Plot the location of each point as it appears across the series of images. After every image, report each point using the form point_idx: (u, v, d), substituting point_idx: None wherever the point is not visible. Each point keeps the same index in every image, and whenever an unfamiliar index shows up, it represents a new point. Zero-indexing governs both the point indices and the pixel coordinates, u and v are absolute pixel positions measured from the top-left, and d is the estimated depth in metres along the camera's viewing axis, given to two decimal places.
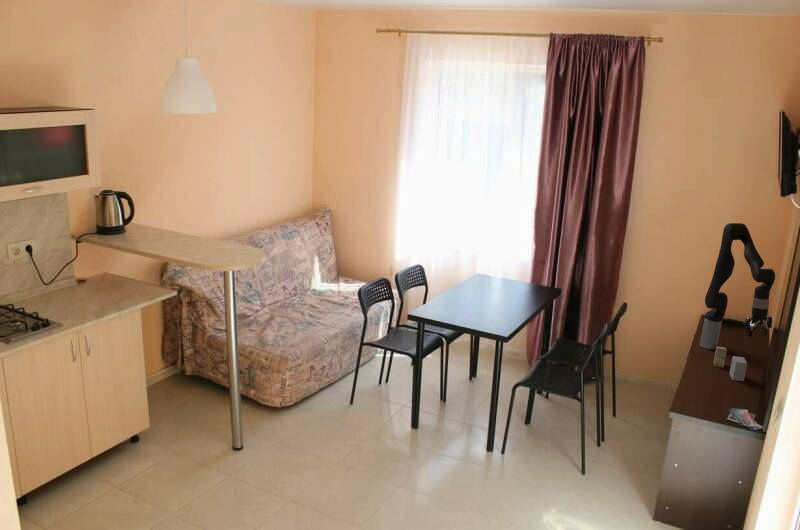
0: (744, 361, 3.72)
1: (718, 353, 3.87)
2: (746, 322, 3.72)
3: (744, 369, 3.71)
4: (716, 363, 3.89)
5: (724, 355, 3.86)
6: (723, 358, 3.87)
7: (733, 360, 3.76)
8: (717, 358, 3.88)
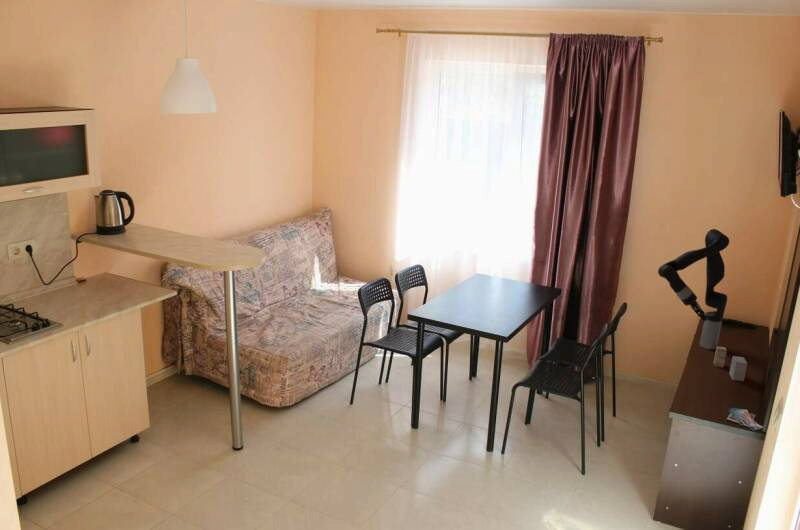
0: (744, 361, 3.72)
1: (718, 352, 3.87)
2: None
3: (744, 369, 3.71)
4: (716, 363, 3.89)
5: (724, 355, 3.87)
6: (723, 358, 3.87)
7: (733, 360, 3.76)
8: (717, 358, 3.88)
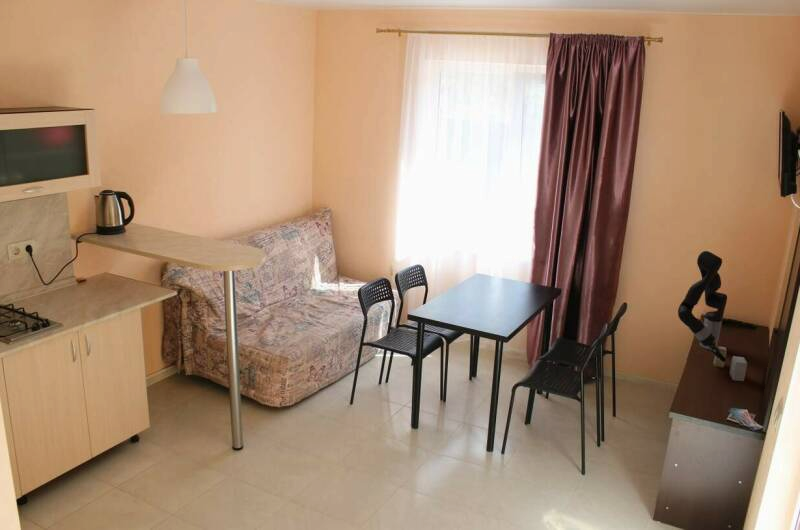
0: (744, 361, 3.72)
1: None
2: None
3: (744, 369, 3.71)
4: (716, 363, 3.89)
5: (724, 355, 3.86)
6: None
7: (733, 360, 3.76)
8: (717, 358, 3.88)
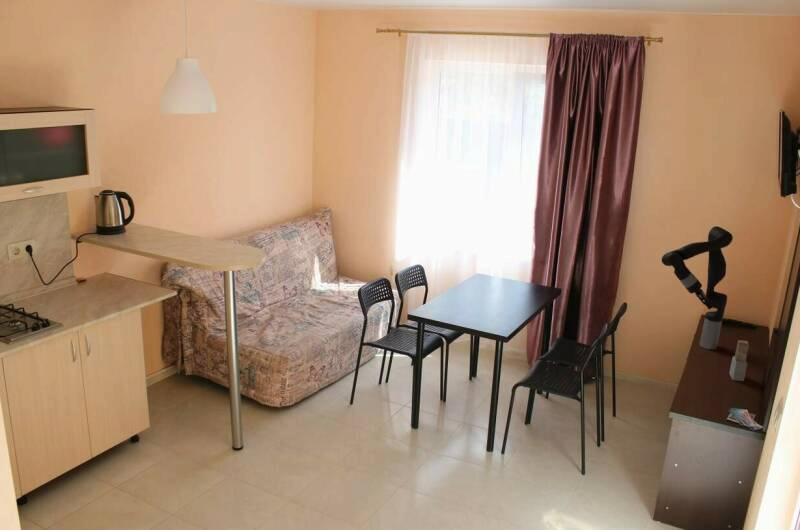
0: None
1: (740, 347, 3.70)
2: None
3: (744, 369, 3.71)
4: (738, 358, 3.72)
5: (746, 349, 3.69)
6: (745, 352, 3.70)
7: (733, 360, 3.76)
8: (739, 352, 3.71)
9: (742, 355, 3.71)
